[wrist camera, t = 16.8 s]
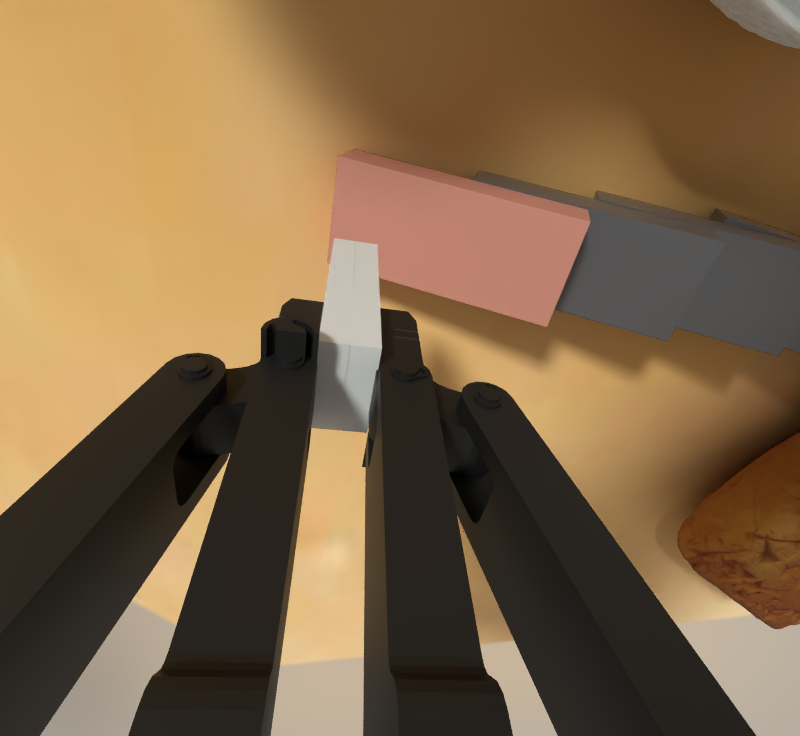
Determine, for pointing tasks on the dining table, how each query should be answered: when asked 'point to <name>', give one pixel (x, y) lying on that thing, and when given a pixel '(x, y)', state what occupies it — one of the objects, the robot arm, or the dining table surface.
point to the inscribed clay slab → (753, 536)
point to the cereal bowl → (766, 18)
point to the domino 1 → (458, 235)
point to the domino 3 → (740, 284)
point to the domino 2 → (629, 263)
